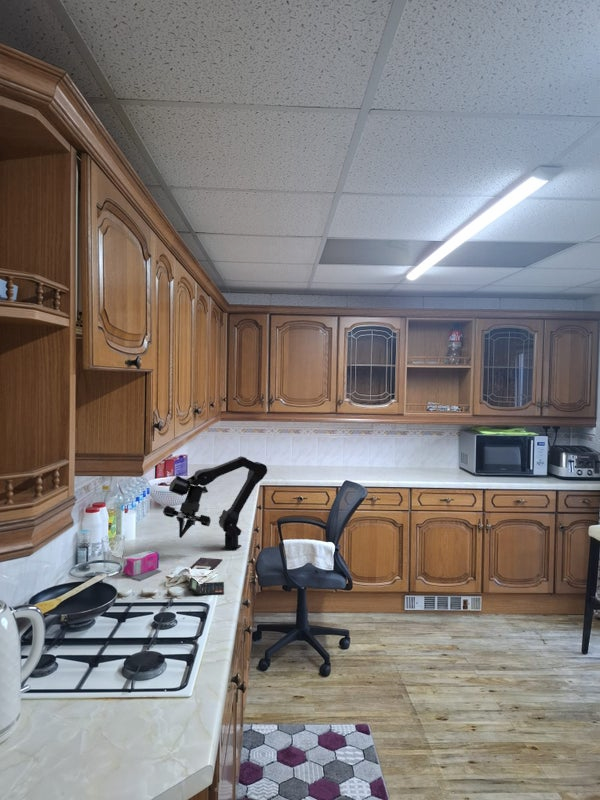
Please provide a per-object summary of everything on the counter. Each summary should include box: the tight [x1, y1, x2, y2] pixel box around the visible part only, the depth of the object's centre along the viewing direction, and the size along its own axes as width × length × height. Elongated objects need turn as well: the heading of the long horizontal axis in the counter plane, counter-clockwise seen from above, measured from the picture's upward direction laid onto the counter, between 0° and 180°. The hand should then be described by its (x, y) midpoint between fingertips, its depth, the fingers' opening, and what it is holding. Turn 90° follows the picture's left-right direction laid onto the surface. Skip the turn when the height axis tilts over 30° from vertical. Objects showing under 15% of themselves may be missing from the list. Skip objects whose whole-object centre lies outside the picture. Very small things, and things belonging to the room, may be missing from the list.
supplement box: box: [122, 549, 160, 577], centre depth 178 cm, size 6×6×12 cm
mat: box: [121, 569, 162, 582], centre depth 176 cm, size 10×9×1 cm
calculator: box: [187, 576, 225, 597], centre depth 163 cm, size 9×12×3 cm
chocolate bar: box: [189, 557, 223, 571], centre depth 183 cm, size 9×1×18 cm
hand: (180, 537), depth 191 cm, fingers closed
